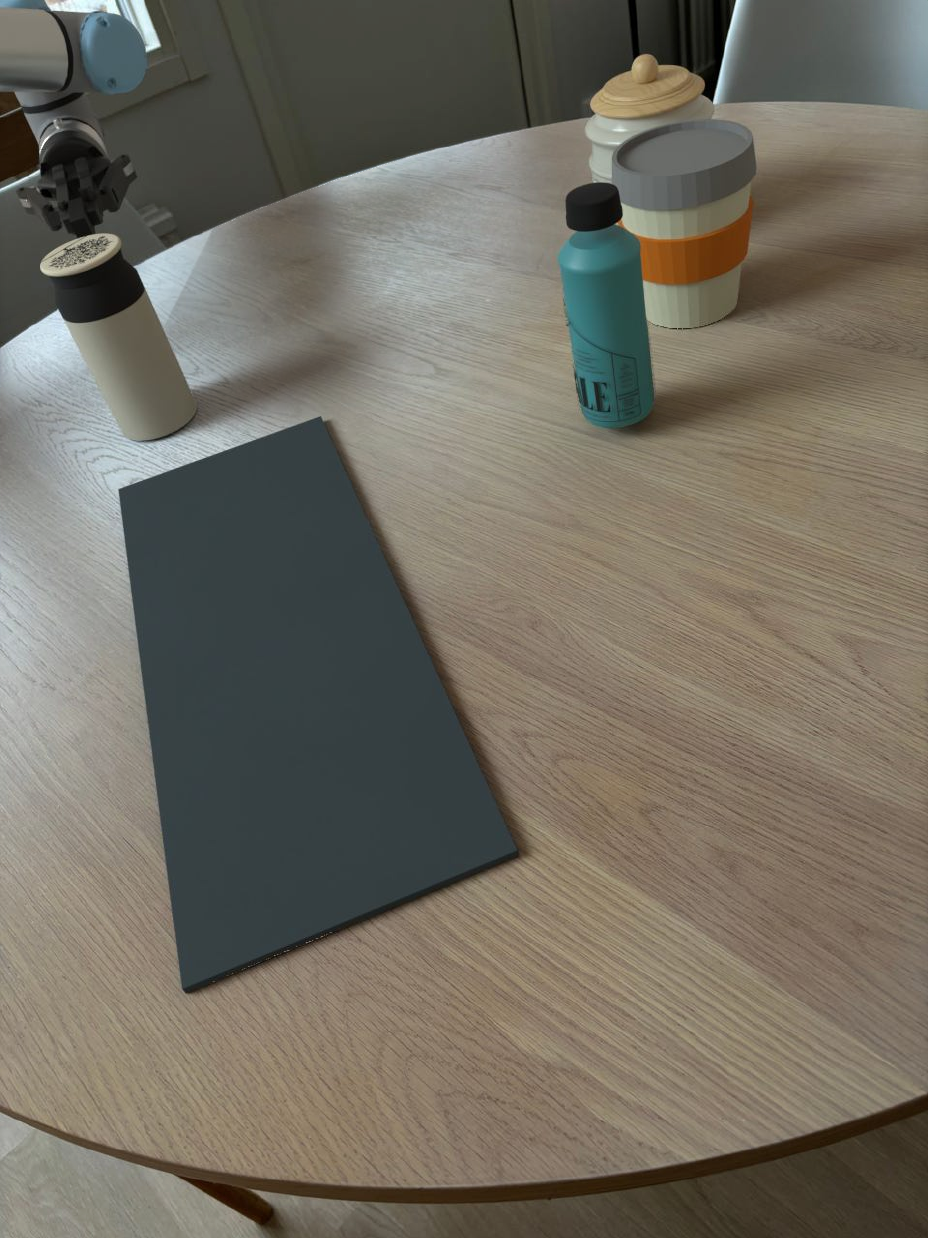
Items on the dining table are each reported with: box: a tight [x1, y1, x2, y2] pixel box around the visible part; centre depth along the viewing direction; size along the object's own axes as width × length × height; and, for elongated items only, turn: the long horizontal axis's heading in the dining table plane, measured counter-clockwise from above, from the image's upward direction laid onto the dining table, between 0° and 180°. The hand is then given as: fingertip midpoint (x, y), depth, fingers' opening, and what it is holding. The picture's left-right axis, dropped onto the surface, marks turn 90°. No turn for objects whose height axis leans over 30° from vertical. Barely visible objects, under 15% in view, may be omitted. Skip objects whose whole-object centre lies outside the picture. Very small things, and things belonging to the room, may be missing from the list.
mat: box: [117, 416, 520, 994], centre depth 76 cm, size 20×53×1 cm, turn 19°
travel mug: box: [39, 232, 198, 441], centre depth 97 cm, size 8×8×18 cm
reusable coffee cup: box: [612, 118, 758, 330], centre depth 93 cm, size 13×13×15 cm
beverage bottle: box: [557, 182, 657, 429], centre depth 80 cm, size 6×7×20 cm
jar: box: [584, 53, 715, 225], centre depth 105 cm, size 13×13×18 cm
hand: (83, 233), depth 99 cm, fingers closed
